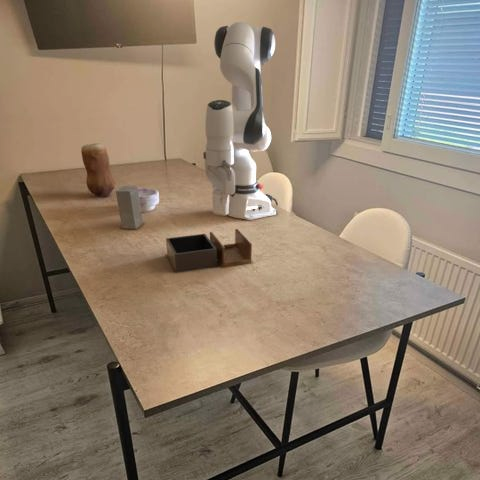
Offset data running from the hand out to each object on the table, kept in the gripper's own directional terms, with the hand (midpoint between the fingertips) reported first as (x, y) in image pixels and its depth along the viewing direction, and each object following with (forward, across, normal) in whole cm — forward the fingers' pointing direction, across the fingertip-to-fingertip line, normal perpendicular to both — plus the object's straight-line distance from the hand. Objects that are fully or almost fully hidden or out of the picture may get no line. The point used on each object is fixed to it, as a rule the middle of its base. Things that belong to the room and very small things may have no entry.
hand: (220, 200), depth 144 cm
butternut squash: (+21, +87, +34) cm, 96 cm away
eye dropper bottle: (+5, 0, 0) cm, 5 cm away
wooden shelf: (+21, 0, -4) cm, 21 cm away
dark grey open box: (+21, +1, +11) cm, 24 cm away
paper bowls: (+21, +62, +18) cm, 68 cm away
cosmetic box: (+21, +42, +26) cm, 54 cm away
